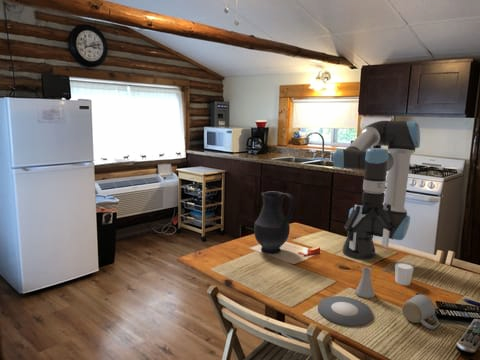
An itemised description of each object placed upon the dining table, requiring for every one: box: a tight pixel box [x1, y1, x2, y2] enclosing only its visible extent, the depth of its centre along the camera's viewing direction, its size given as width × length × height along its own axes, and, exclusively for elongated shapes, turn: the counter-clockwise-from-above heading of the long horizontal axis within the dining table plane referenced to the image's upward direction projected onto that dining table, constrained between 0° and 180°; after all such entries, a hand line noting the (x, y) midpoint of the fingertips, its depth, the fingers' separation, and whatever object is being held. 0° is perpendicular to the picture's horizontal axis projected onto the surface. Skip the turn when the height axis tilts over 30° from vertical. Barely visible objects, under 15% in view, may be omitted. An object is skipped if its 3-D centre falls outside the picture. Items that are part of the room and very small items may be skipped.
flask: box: [354, 267, 375, 299], centre depth 141 cm, size 7×7×10 cm
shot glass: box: [394, 262, 414, 286], centre depth 152 cm, size 7×7×7 cm
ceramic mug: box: [401, 293, 440, 330], centre depth 124 cm, size 11×8×8 cm
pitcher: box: [253, 190, 296, 255], centre depth 181 cm, size 17×21×30 cm
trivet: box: [317, 295, 373, 327], centre depth 129 cm, size 18×18×1 cm
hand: (368, 247), depth 139 cm, fingers open, 13 cm apart
